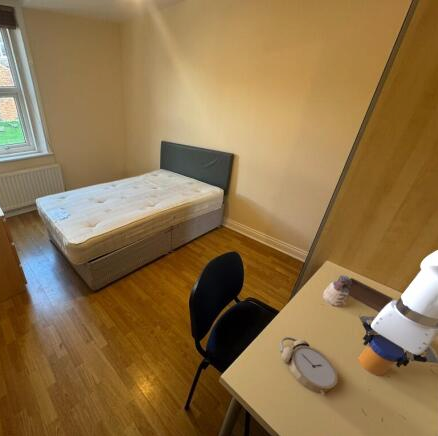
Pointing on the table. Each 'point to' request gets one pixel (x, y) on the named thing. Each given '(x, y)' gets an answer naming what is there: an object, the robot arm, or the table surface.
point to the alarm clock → (309, 366)
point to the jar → (374, 362)
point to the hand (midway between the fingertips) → (381, 352)
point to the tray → (368, 295)
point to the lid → (386, 348)
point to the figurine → (338, 291)
